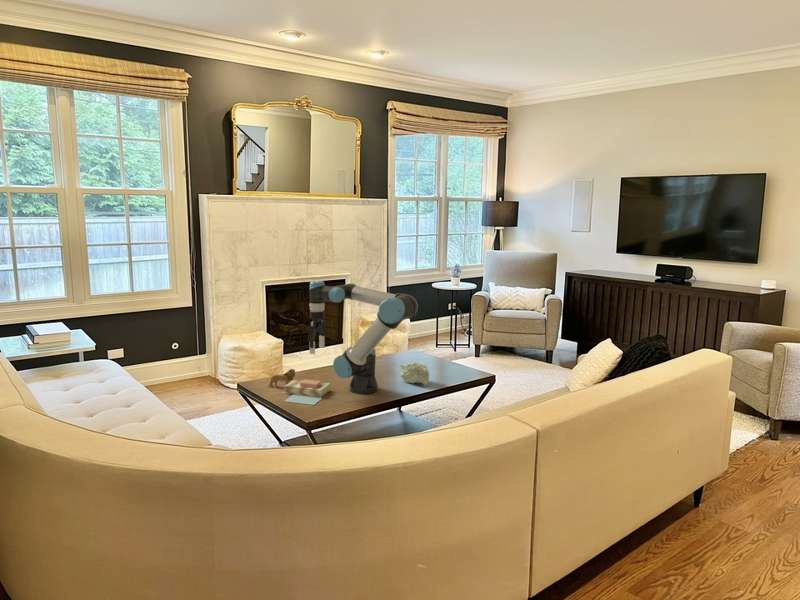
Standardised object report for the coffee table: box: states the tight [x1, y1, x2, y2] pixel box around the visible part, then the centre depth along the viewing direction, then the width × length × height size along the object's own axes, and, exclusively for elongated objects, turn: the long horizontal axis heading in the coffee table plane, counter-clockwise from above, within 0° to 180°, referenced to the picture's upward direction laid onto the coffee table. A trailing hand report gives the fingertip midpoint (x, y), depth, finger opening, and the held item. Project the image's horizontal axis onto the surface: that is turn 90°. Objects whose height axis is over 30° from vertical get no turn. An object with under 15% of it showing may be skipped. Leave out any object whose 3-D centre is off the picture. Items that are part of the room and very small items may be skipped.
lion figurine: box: [267, 368, 296, 389], centre depth 309 cm, size 15×5×9 cm, turn 116°
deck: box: [284, 378, 331, 398], centre depth 301 cm, size 20×12×4 cm, turn 75°
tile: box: [300, 378, 322, 388], centre depth 299 cm, size 9×6×2 cm, turn 75°
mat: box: [283, 394, 323, 406], centre depth 289 cm, size 16×11×1 cm
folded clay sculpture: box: [399, 361, 430, 387], centre depth 321 cm, size 18×13×16 cm
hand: (317, 350), depth 305 cm, fingers open, 13 cm apart
